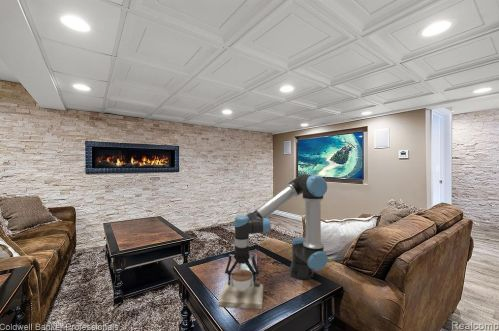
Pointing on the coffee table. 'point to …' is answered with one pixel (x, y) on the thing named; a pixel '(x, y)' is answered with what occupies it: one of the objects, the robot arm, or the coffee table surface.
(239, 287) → the lidded jar
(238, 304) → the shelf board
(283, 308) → the coffee table surface
